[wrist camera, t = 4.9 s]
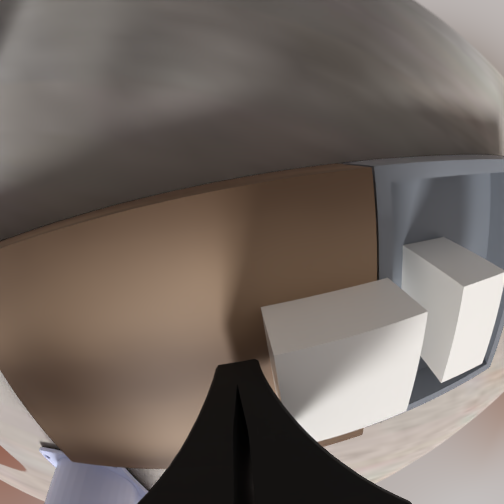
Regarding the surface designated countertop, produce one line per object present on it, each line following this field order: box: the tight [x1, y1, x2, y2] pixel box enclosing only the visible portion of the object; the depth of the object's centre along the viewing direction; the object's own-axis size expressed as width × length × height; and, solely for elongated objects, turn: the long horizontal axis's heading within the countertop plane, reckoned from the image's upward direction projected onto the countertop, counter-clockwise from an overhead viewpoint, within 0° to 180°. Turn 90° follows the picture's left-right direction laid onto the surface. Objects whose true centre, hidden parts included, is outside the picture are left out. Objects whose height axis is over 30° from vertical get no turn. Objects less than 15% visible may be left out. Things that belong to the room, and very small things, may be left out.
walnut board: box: [0, 163, 377, 469], centre depth 11 cm, size 13×17×3 cm
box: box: [343, 155, 504, 427], centre depth 12 cm, size 13×10×3 cm
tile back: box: [401, 237, 504, 383], centre depth 11 cm, size 4×4×2 cm
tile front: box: [261, 278, 428, 442], centre depth 9 cm, size 4×4×2 cm
